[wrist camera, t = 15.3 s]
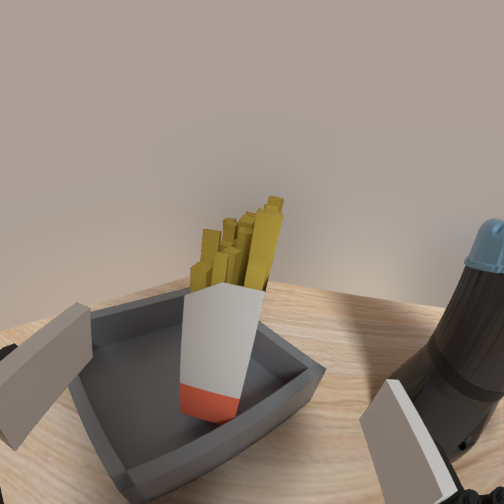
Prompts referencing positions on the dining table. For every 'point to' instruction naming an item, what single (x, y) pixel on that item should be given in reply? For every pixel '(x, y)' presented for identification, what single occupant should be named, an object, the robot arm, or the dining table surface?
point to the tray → (175, 398)
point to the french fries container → (225, 312)
